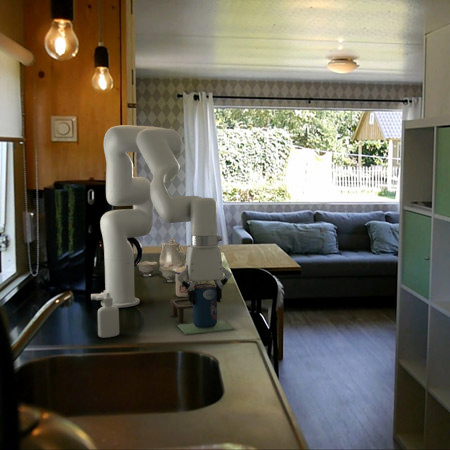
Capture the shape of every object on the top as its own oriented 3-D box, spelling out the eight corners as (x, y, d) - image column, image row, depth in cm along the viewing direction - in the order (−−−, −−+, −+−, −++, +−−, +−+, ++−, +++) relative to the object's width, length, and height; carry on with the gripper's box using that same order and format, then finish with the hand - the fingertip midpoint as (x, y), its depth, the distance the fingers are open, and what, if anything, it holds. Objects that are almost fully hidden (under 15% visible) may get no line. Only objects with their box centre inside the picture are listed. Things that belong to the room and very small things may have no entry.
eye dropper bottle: (99, 334, 180) (97, 291, 179) (119, 333, 181) (118, 291, 180) (97, 338, 176) (96, 295, 174) (118, 337, 177) (117, 294, 175)
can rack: (178, 323, 192) (177, 306, 191) (170, 315, 201) (170, 299, 200) (211, 320, 195) (211, 303, 195) (202, 312, 205) (201, 297, 204)
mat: (185, 334, 179) (185, 333, 179) (177, 326, 189) (177, 324, 189) (233, 329, 185) (233, 328, 184) (223, 321, 194) (223, 320, 194)
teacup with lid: (177, 298, 225) (176, 265, 224) (173, 293, 234) (172, 261, 232) (211, 296, 228) (210, 263, 227) (206, 291, 237) (205, 259, 236)
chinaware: (130, 279, 268) (125, 240, 265) (161, 270, 281) (157, 232, 277) (174, 288, 250) (169, 246, 247) (205, 278, 262) (201, 238, 259)
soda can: (218, 329, 184) (217, 287, 182) (193, 330, 183) (193, 288, 181) (216, 322, 190) (215, 282, 189) (192, 323, 189) (192, 283, 188)
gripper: (229, 238, 191) (229, 297, 192) (171, 241, 184) (172, 302, 186) (237, 241, 184) (237, 302, 186) (177, 244, 177) (178, 308, 179)
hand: (204, 302), depth 186 cm, fingers closed on soda can, 7 cm apart
